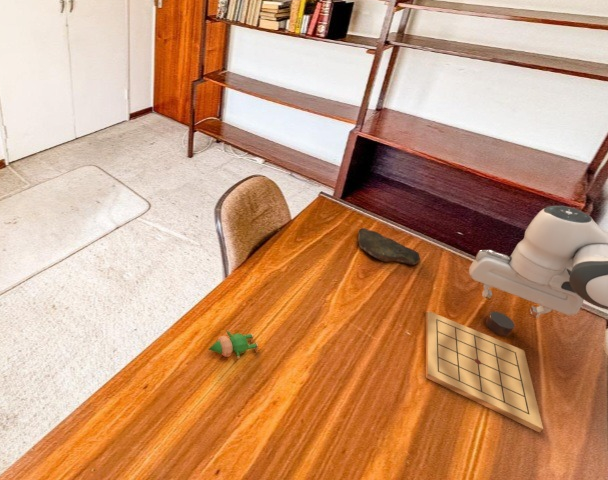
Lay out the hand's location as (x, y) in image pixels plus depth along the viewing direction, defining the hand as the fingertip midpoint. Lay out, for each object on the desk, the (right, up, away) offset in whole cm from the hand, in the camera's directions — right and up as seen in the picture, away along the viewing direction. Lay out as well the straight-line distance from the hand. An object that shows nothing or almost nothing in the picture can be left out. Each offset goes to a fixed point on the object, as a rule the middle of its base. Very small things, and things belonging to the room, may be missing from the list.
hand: (508, 305), depth 99 cm
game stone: (0, -7, +3) cm, 8 cm away
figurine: (-71, -9, -5) cm, 72 cm away
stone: (-16, +4, +26) cm, 31 cm away
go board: (-14, -11, -6) cm, 19 cm away
